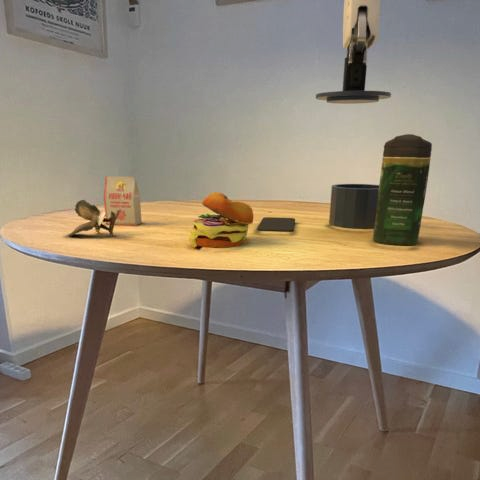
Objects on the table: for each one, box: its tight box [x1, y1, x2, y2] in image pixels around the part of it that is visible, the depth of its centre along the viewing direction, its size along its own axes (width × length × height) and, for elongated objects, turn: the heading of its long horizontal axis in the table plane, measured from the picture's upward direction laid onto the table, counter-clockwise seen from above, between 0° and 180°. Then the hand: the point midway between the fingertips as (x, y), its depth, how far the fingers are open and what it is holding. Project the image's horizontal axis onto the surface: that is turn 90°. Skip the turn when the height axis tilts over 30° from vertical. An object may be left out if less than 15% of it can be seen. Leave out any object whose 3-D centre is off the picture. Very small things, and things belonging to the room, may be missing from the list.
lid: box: [315, 56, 392, 105], centre depth 79 cm, size 13×13×7 cm
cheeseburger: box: [188, 191, 254, 248], centre depth 82 cm, size 10×11×10 cm
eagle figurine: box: [67, 199, 119, 237], centre depth 90 cm, size 8×7×9 cm
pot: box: [328, 183, 379, 230], centre depth 100 cm, size 12×12×8 cm
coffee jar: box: [372, 133, 433, 247], centre depth 82 cm, size 10×8×19 cm
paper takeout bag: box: [103, 175, 143, 226], centre depth 102 cm, size 4×7×10 cm, turn 80°
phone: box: [256, 216, 296, 233], centre depth 100 cm, size 7×1×15 cm
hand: (353, 92), depth 80 cm, fingers closed on lid, 3 cm apart
